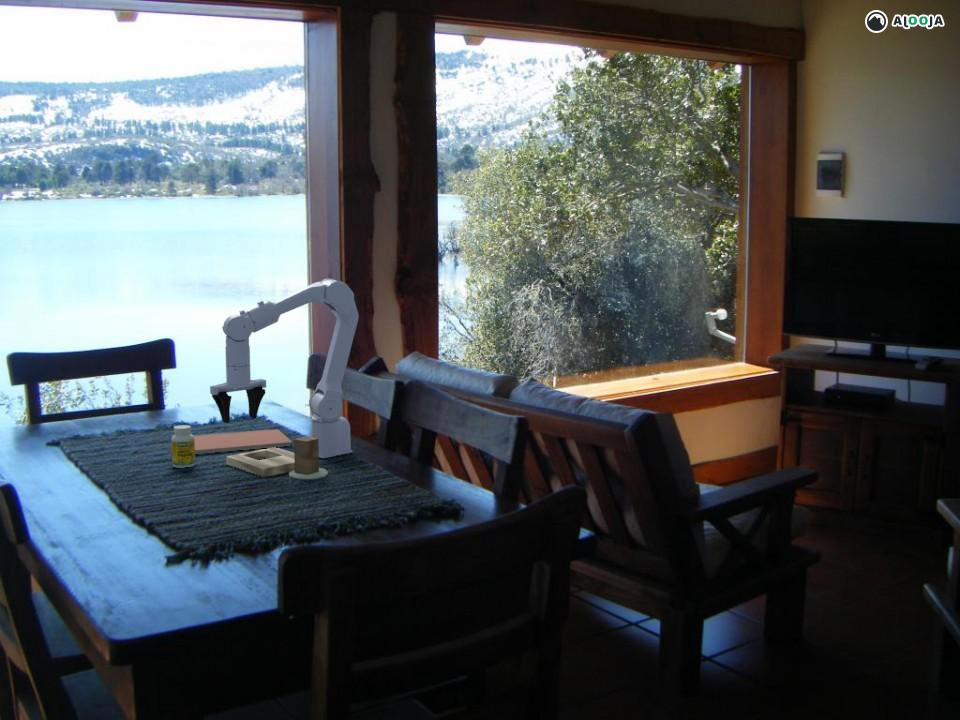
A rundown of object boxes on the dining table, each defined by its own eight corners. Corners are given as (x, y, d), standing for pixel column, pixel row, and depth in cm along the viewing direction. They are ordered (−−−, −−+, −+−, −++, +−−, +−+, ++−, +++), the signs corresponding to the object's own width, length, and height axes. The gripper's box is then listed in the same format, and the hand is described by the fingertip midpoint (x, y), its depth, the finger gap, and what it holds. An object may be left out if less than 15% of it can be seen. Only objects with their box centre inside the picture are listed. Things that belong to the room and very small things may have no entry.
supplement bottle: (191, 461, 256) (190, 423, 255) (198, 466, 252) (197, 427, 250) (169, 464, 253) (167, 425, 252) (176, 469, 249) (174, 430, 247)
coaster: (312, 467, 252) (312, 465, 252) (335, 474, 246) (335, 472, 246) (281, 474, 246) (281, 472, 246) (304, 481, 239) (304, 479, 239)
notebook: (277, 434, 288) (277, 427, 288) (292, 448, 273) (292, 440, 273) (175, 443, 277) (175, 435, 277) (185, 457, 262) (184, 450, 262)
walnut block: (306, 468, 249) (306, 436, 247) (319, 471, 246) (318, 438, 245) (294, 472, 245) (294, 439, 244) (307, 475, 243) (306, 441, 242)
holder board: (275, 454, 264) (274, 447, 263) (313, 466, 253) (312, 458, 252) (226, 464, 254) (226, 456, 254) (263, 477, 243) (263, 468, 242)
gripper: (254, 359, 261) (255, 413, 263) (202, 366, 251) (204, 421, 253) (270, 363, 256) (271, 417, 258) (218, 369, 246) (220, 426, 248)
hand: (239, 420), depth 255 cm, fingers open, 7 cm apart
